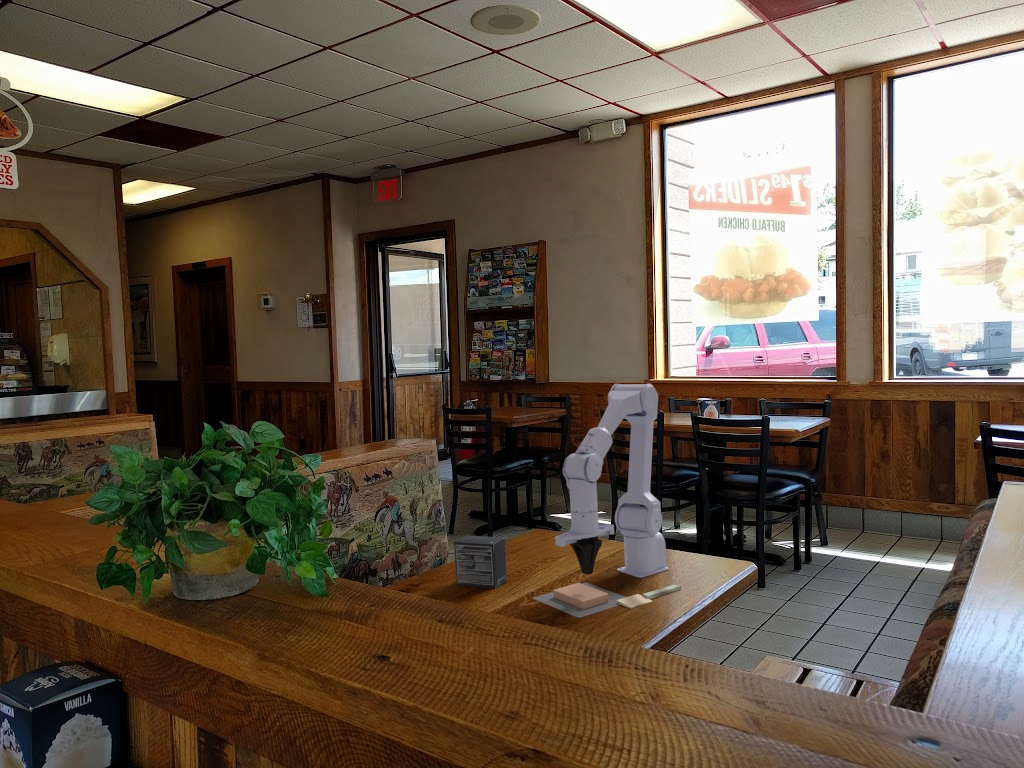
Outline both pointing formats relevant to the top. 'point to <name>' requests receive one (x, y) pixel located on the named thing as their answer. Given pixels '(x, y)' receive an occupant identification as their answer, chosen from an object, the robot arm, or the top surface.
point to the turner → (646, 597)
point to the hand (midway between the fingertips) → (587, 573)
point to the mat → (578, 611)
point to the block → (581, 595)
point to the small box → (480, 561)
